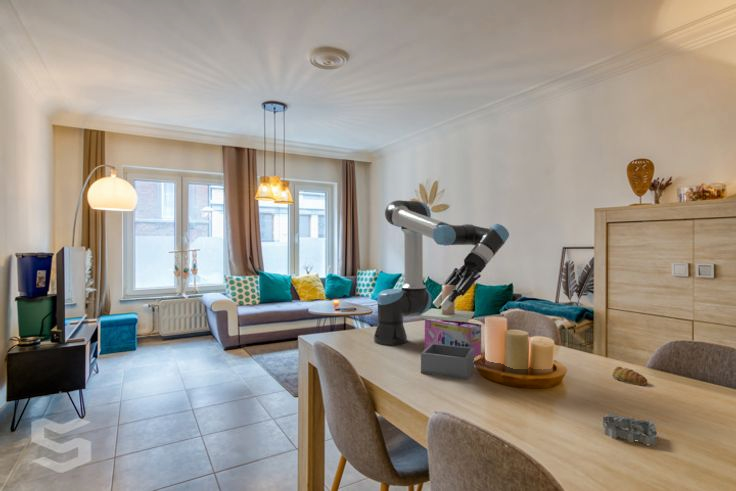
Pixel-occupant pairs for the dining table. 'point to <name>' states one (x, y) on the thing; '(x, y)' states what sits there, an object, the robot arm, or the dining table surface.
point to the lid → (450, 312)
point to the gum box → (453, 334)
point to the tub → (447, 361)
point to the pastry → (629, 376)
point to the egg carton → (621, 426)
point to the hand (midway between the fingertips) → (439, 306)
